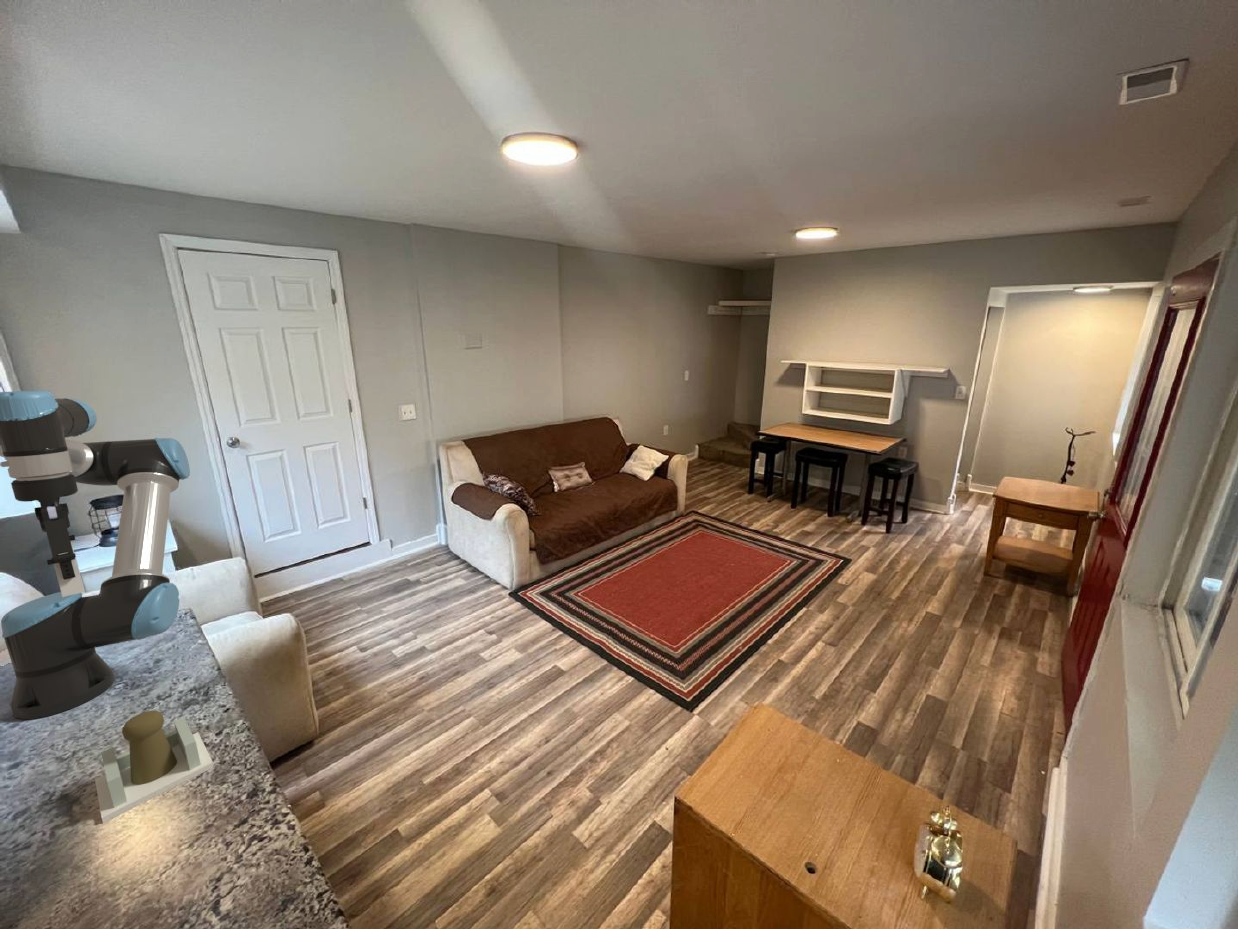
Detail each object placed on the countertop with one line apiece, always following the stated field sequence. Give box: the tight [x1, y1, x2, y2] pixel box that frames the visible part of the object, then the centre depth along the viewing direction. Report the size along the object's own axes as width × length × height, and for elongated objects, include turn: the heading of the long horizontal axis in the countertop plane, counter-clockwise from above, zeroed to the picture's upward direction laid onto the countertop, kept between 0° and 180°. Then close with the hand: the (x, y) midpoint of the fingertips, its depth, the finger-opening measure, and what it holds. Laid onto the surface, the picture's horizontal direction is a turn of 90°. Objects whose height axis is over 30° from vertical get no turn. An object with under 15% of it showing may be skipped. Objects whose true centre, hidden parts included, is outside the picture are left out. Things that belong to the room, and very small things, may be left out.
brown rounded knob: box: [121, 710, 177, 785], centre depth 84 cm, size 6×6×11 cm
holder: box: [94, 716, 215, 824], centre depth 85 cm, size 12×14×6 cm
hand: (71, 584), depth 91 cm, fingers open, 13 cm apart
